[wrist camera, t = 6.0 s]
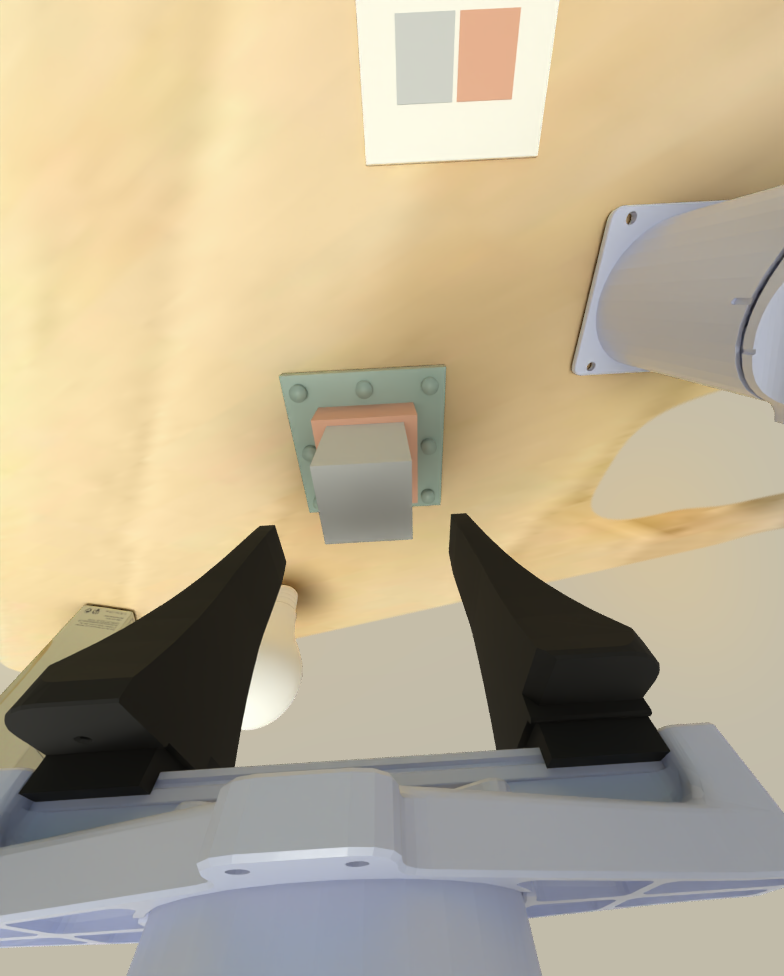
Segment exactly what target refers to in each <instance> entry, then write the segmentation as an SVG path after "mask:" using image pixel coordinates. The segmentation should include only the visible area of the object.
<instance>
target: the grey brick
mask: <svg viewBox="0 0 784 976" xmlns="http://www.w3.org/2000/svg"><path fill="white" fill-rule="evenodd" d="M310 471H311V476H312V481H313V486H314V491H315V496H316V500H317V505H318V510H319V515H320V520H321V525H322V530H323V535H324V540H325V544H339V543H356V542H374V541H391V540H408V539H413V530H412V460H411V455H410V450H409V445H408V440H407V435H406V430H405V426H404V422H393V423H374V424H356V425H337V426H326V428H325V431H324V433H323V435H322V438H321V440H320V443H319V445H318V447H317V450H316V452H315V455H314V457H313V460H312V462H311V464H310Z"/></svg>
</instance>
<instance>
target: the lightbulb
mask: <svg viewBox="0 0 784 976" xmlns="http://www.w3.org/2000/svg"><path fill="white" fill-rule="evenodd" d="M297 601H298V593H297V592H296V590H295V589H294V588H292V587H290V586H287V585H281V587H280V590H279V593H278V596H277V599H276V602H275V605H274V607H273V610H272V613H271V615H270V618H269V621H268V624H267V626H266V629H265V632H264V635H263V638H262V641H261V644H260V647H259V651H258V655H257V659H256V663H255V667H254V671H253V675H252V680H251V684H250V688H249V693H248V697H247V702H246V707H245V712H244V717H243V722H242V727H241V730H252V729H256V728H260V727H263V726H265V725H267V724H269V723H271V722H273V721H275V720H276V719H277V718H278V717H279V716H281V715H282V714H283V713H284V712H285V711H286V710H287V708H288V707H289V706H290V705H291V703H292V702H293V700H294V698H295V697H296V695H297V692H298V690H299V687H300V684H301V680H302V659H301V656H300V652H299V648H298V645H297V643H296V639H295V622H296V612H295V610H296V606H297Z"/></svg>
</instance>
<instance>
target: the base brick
mask: <svg viewBox="0 0 784 976" xmlns="http://www.w3.org/2000/svg"><path fill="white" fill-rule="evenodd" d="M393 422H404V426H405V430H406V435H407V440H408V445H409V450H410V455H411V460H412V503H418V445H417V412H416V409H415V406H414V403H413V402H407V403H390V404H372V405H355V406H337V407H320V408H318V409H317V411H316V412H315V414H314V416H313V418H312V419H311V425H312V430H313V435H314V441H315V446H316V450H317V447H318V445H319V443H320V440H321V438H322V435H323V433H324V431H325V428H326V426H337V425H356V424H374V423H393Z"/></svg>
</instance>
